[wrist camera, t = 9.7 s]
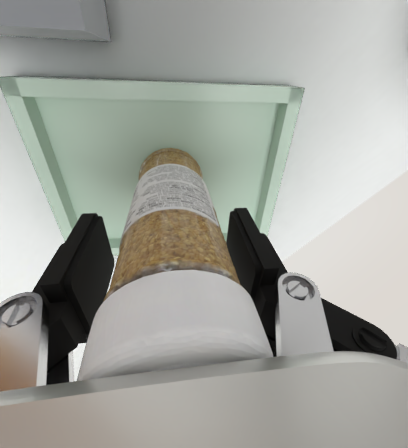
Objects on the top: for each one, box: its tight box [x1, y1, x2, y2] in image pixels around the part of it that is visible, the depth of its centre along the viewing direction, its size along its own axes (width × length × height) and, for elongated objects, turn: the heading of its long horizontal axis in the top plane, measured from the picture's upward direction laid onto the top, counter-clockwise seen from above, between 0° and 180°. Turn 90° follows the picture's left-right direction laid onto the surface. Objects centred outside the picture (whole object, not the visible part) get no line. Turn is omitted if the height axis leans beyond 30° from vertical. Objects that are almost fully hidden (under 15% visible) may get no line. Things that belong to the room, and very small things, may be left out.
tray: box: [0, 76, 305, 256], centre depth 16 cm, size 12×16×2 cm
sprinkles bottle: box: [77, 148, 273, 381], centre depth 10 cm, size 5×5×13 cm
